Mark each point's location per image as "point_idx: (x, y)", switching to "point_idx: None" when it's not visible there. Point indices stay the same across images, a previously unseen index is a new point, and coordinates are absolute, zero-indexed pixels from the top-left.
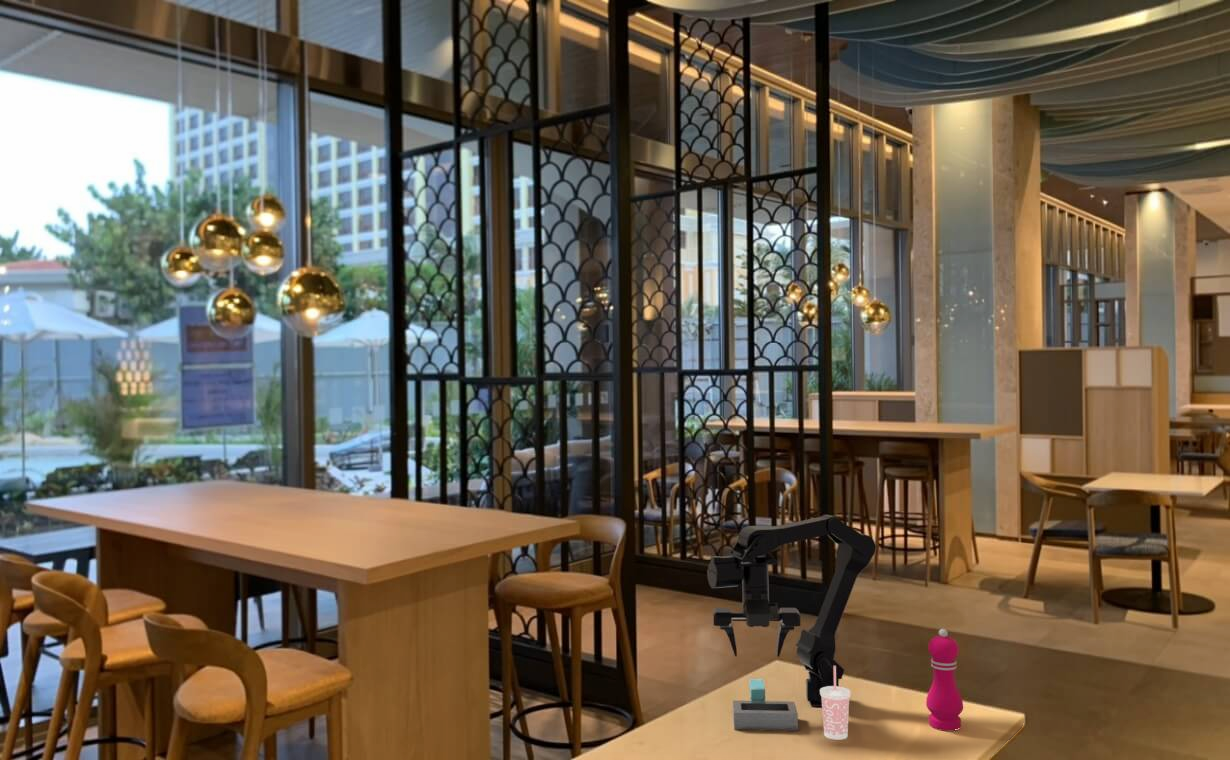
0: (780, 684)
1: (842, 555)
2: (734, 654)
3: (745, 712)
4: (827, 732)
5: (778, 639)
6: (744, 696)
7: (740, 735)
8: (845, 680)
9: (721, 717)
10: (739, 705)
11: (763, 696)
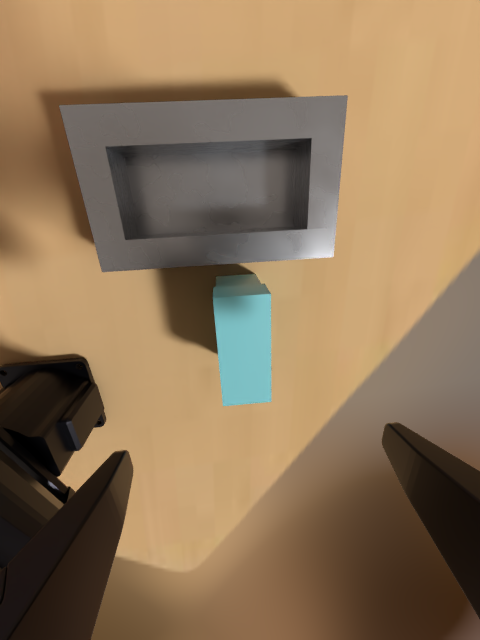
0: (184, 482)
1: None
2: (408, 428)
3: (297, 101)
4: None
5: (52, 610)
6: (270, 403)
7: (303, 51)
8: None
9: (348, 240)
10: (314, 198)
11: (220, 289)
